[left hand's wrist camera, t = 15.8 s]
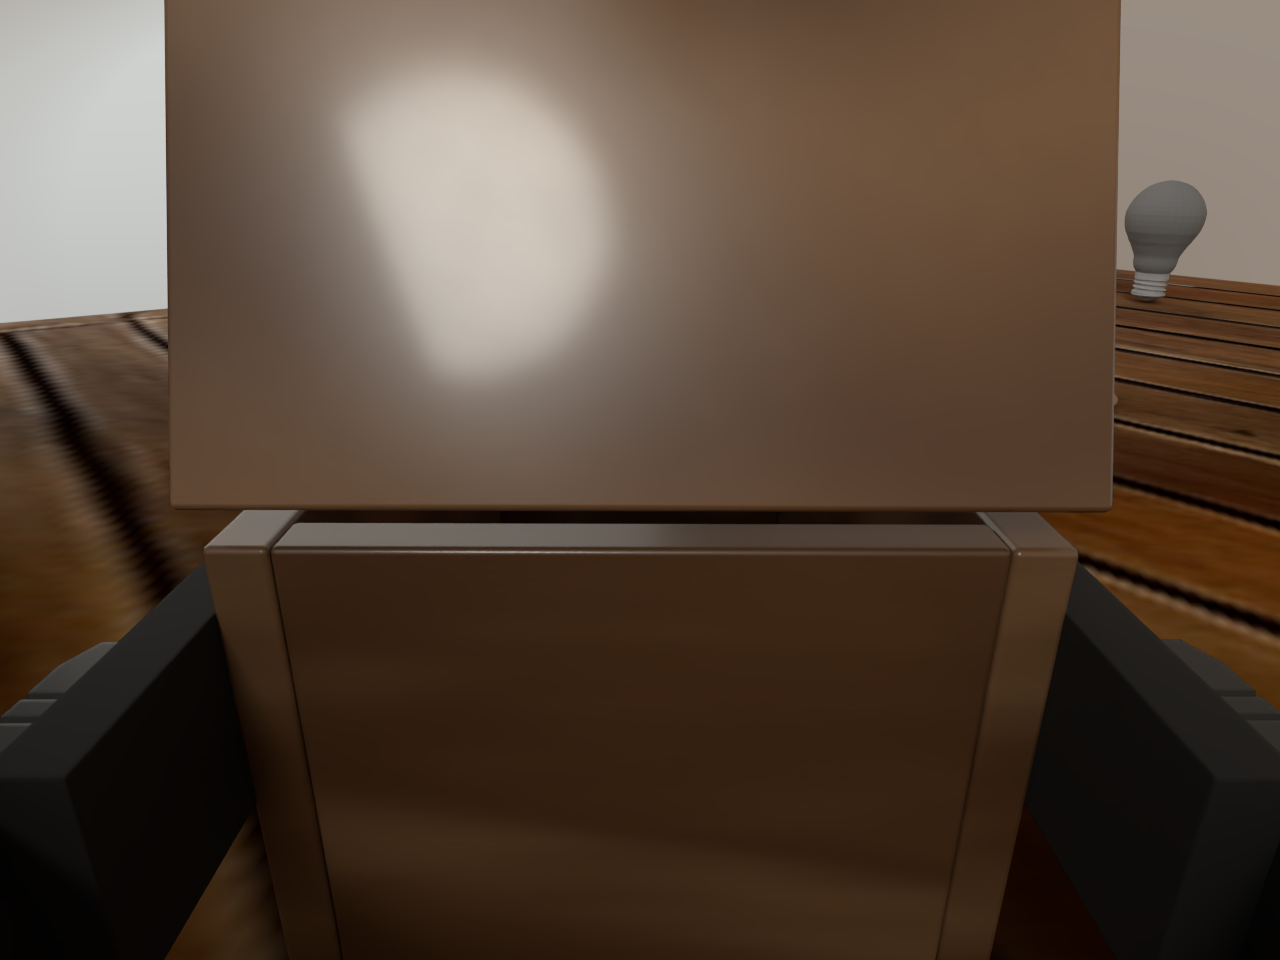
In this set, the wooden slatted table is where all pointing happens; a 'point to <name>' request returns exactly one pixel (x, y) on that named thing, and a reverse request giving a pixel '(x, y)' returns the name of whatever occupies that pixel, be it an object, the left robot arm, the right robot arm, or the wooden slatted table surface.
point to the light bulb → (1162, 232)
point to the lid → (642, 254)
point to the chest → (639, 727)
